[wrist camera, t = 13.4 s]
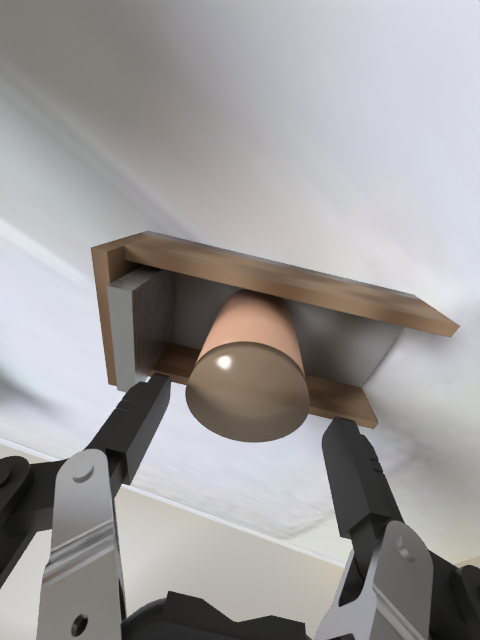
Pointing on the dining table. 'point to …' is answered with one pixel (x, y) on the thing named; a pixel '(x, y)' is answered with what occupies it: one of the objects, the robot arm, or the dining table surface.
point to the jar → (250, 371)
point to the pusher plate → (140, 322)
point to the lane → (299, 293)
